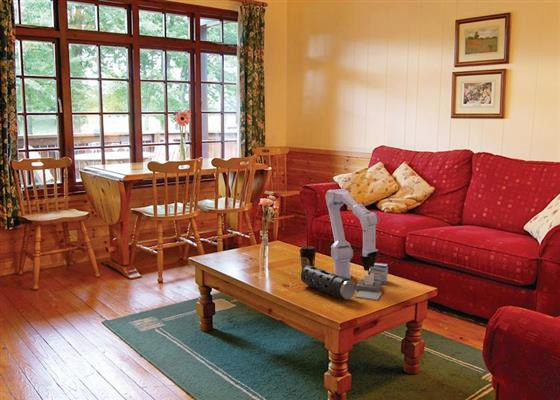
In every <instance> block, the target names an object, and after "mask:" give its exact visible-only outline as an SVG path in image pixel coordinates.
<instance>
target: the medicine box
mask: <svg viewBox="0 0 560 400" xmlns="http://www.w3.org/2000/svg"><path fill="white" fill-rule="evenodd" d="M369 271H371V274H374V281H379V282H382V284H387V282H388V273H389V263H381V262H380V263H379V262H375V263H374V267H370V269H369Z"/></svg>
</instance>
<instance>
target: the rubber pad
mask: <svg viewBox="0 0 560 400" xmlns="http://www.w3.org/2000/svg"><path fill="white" fill-rule="evenodd" d="M382 295H383V292H382V291H379V292H371V291H363V290H360V291H357V293H356V295H354V296H355V297H354V298H357V299H362V300H363V299H365V300H370V301H379V299H380V297H382Z"/></svg>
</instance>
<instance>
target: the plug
mask: <svg viewBox="0 0 560 400" xmlns="http://www.w3.org/2000/svg"><path fill="white" fill-rule="evenodd" d="M363 278H364V279H363V280H364V285H370V286H373V285H374V274H371V271H370V270H369V271H367V272H366V273H365V274H364V277H363Z"/></svg>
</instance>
